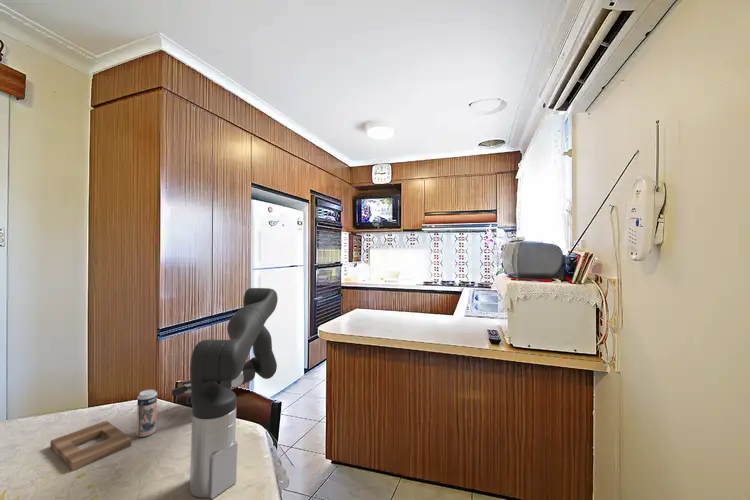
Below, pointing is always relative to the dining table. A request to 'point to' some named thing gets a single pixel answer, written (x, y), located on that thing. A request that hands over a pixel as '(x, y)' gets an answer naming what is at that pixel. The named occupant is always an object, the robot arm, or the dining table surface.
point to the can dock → (79, 458)
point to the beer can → (146, 413)
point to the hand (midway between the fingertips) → (179, 397)
